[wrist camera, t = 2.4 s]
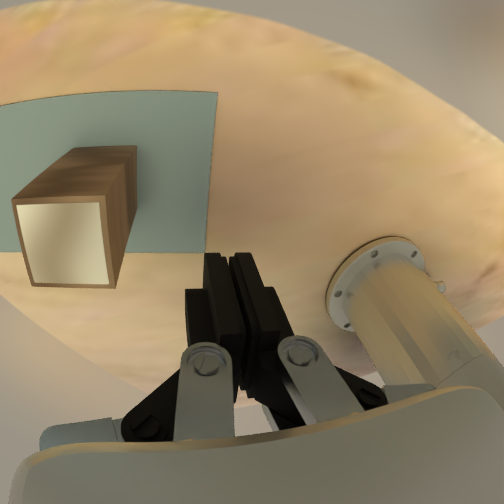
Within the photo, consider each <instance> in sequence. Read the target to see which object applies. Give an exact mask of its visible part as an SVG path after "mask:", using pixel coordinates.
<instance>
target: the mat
mask: <svg viewBox="0 0 504 504" xmlns="http://www.w3.org/2000/svg"><path fill="white" fill-rule="evenodd" d="M217 95H218V93H216V92H199V91H162V90H151V91H115V92H99V93H86V94H75V95H66V96H58V97H50V98H43V99H36V100H30V101H24V102H18V103H13V104H8V105H3V106H0V252H22V250H21V245H20V241H19V237H18V233H17V228H16V223H15V218H14V213H13V208H12V202H11V199H12V198H13V197H14V196H15V195H16V194H17V193H18V192H20V191H21V190H22V189H23V188H24V187H25V186H26V185H28V184H29V183H30V182H31V181H32V180H33V179H34V178H36V177H37V176H38V175H39V174H40V173H42V172H43V171H44V170H45V169H47V168H48V167H49V166H50V165H51V164H53V163H54V162H55V161H57V160H58V159H59V158H60V157H62V156H63V155H64V154H66V153H67V152H68V151H70V150H71V149H72V148H76V147H94V146H122V145H137V211H136V215H135V218H134V221H133V225H132V228H131V232H130V235H129V239H128V242H127V246H126V249H125V253H205V239H206V223H207V208H208V193H209V180H210V168H211V156H212V145H213V134H214V124H215V114H216V104H217Z"/></svg>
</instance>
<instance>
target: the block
mask: <svg viewBox="0 0 504 504" xmlns="http://www.w3.org/2000/svg"><path fill="white" fill-rule="evenodd" d="M11 202H12V208H13V213H14V218H15V223H16V228H17V233H18V237H19V241H20V245H21V250H22V253H23V257H24V261H25V265H26V268H27V272H28V275H29V279H30V282H31V285H32V286H36V287H65V288H108V289H116V285H117V281H118V276H119V272H120V268H121V264H122V261H123V257H124V253H125V249H126V246H127V242H128V239H129V235H130V232H131V228H132V225H133V221H134V218H135V215H136V211H137V145H122V146H94V147H76V148H72V149H71V150H70V151H68V152H67V153H66V154H64V155H63V156H62V157H60V158H59V159H58V160H57V161H55V162H54V163H53V164H51V165H50V166H49V167H48V168H47V169H45V170H44V171H43V172H42V173H40V174H39V175H38V176H37V177H36V178H34V179H33V180H32V181H31V182H30V183H29V184H28V185H26V186H25V187H24V188H23V189H22V190H21V191H20V192H18V193H17V194H16V195H15V196H14V197H13V198H12V199H11Z"/></svg>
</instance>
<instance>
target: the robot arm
mask: <svg viewBox="0 0 504 504" xmlns="http://www.w3.org/2000/svg"><path fill="white" fill-rule="evenodd" d="M445 288H446V286H445V283H444V282H443V281H438V282H433V281H432V280H431V279H430V278H429V277H428V276H427V275H426V274H425V261H424V257H423V254H422V253H421V251H420V249H419V248H418V247H416V246H415V245H414V244H413V243H412V242H410V241H409V240H407V239H404V238H401V237H387V238H382V239H379V240H376V241H373V242H371V243H369V244H367V245H366V246H364V247H362V248H360V249H359V250H358V251H356V252H355V253H354V254H352V255H351V256H350V257H349V258H348V259H347V260H346V261H345V262H344V263H343V264H342V266H341V267H340V268H339V270H338V271H337V272H336V274H335V276H334V277H333V279H332V281H331V283H330V286H329V288H328V291H327V297H326V308H327V311H328V314H329V316H330V317H331V319H332V321H333V322H334V323H335V324H336V325H337V326H338V327H339V328H341V329H343V330H346V331H350V332H356V334H357V336H358V337H359V339H360V341H361V343H362V344H363V346H364V348H365V349H366V351H367V353H368V355H369V356H370V358H371V360H372V362H373V363H374V365H375V367H376V369H377V370H378V372H379V374H380V376H381V378H382V379H383V381H384V383H385V384H386V385H385V386H383V387H382V388H379V387H378V386H376V385H374V384H372V383H370V382H368V381H366V380H364V379H362V378H359V377H357V376H355V375H353V374H351V373H349V372H346V371H344V370H342V369H340V368H338V367H336V366H334V365H333V364H332V362H331V361H330V359H329V358H328V357H327V355H326V354H325V352H324V351H323V349H322V348H321V346H320V345H319V344H318V343H317V342H315V341H314V340H312V339H311V338H308V337H305V336H299V335H296V336H295V335H294V333H293V331H292V328H291V326H290V324H289V321H288V319H287V317H286V314H285V312H284V310H283V307H282V305H281V303H280V300H279V298H278V296H277V293H276V291H275V289H274V287H272V286H271V287H264V285H263V282H262V280H261V277H260V275H259V272H258V269H257V267H256V264H255V262H254V259H253V257H252V254H251V253H235V255H234V257H230V258H229V265H228V263H227V259H226V257H221V254H220V253H205V254H204V270H203V289H185V318H186V332H187V342H188V348H187V349H186V350H185V351H184V352H183V354H182V357H181V364H180V369H179V370H178V371H176V372H175V373H174V374H173V375H172V376H171V377H170V378H168V379H167V380H166V381H165V382H164V383H163V384H161V385H160V386H159V387H158V388H157V389H156V390H154V391H153V392H152V393H151V394H150V395H148V397H146V398H145V399H144V400H143V401H141V402H140V403H139V404H138V405H137V406H135V407H134V408H133V409H132V410H131V411H130V412H128V413H127V414H126V416H125V417H124V418H121V419H115V420H112V418H111V417H110V418H104V419H97V420H92V421H84V422H77V423H69V424H61V425H54V426H51V427H48V428H47V429H46V430H44V431H43V433H42V435H41V437H40V442H39V446H40V451H39V452H36V453H34V454H32V455H30V456H29V457H27V458H25V459H24V460H23V461H22V462H21V463H20V465H19V466H18V468H17V470H16V472H15V475H14V477H13V480H12V485H11V489H10V495H9V503H8V504H504V367H503V366H502V364H501V363H500V362H499V361H498V359H497V358H496V357H495V355H494V354H493V353H492V352H491V351H490V349H489V348H488V347H487V346H486V344H485V343H484V342H483V341H482V340H481V338H480V337H479V336H478V335H477V333H476V332H475V331H474V330H473V329H472V327H471V326H470V325H469V324H468V323H467V321H466V320H465V319H464V318H463V317H462V316H461V315H460V313H459V312H458V311H457V310H456V309H455V308H454V307H453V305H452V304H451V303H450V302H449V301H448V300H447V299H446V298H445V296H444V295H443V294H442V292H444V291H445ZM239 386H240V389H241V391H242V390H246V393H247V397H248V398H254V399H255V400H256V401H258V402H260V403H262V408H263V412H264V414H265V416H266V418H267V420H268V422H269V424H270V426H271V428H272V430H273V432H267V433H260V434H254V435H246V436H238V437H235V430H234V403H235V402H236V398H237V392H238V387H239Z"/></svg>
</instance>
